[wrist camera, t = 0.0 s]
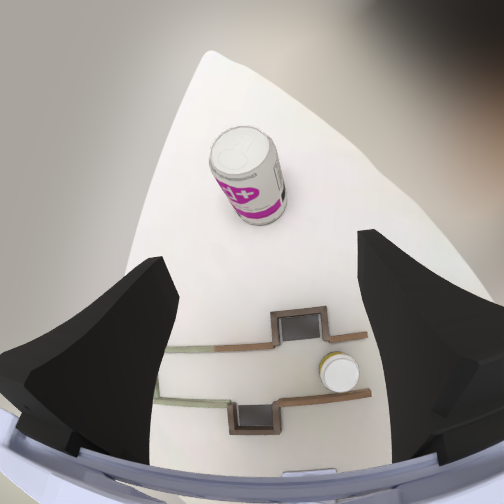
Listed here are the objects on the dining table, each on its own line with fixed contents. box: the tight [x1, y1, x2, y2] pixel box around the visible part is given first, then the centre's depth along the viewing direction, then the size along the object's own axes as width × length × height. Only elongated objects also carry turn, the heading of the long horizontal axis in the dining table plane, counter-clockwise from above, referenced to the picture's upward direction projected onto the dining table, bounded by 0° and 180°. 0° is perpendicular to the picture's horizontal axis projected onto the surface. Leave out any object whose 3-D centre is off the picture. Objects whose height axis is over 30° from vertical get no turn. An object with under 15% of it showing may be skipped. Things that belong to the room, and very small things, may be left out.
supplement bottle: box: [319, 351, 359, 392], centre depth 34 cm, size 5×5×8 cm
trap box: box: [153, 306, 372, 435], centre depth 39 cm, size 18×32×2 cm, turn 94°
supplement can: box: [209, 125, 287, 225], centre depth 40 cm, size 8×8×15 cm
